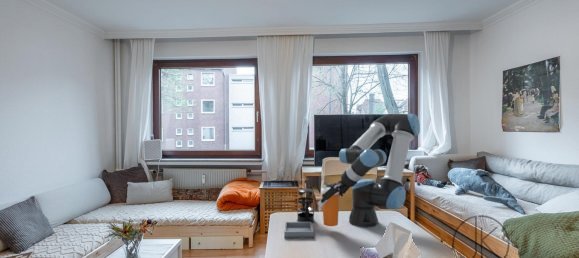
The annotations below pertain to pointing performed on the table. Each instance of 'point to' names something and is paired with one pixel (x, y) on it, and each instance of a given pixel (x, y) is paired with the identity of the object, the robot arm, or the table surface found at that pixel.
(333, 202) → the shaker bottle
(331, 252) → the table surface
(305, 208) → the french press
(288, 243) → the table surface
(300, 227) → the tray
